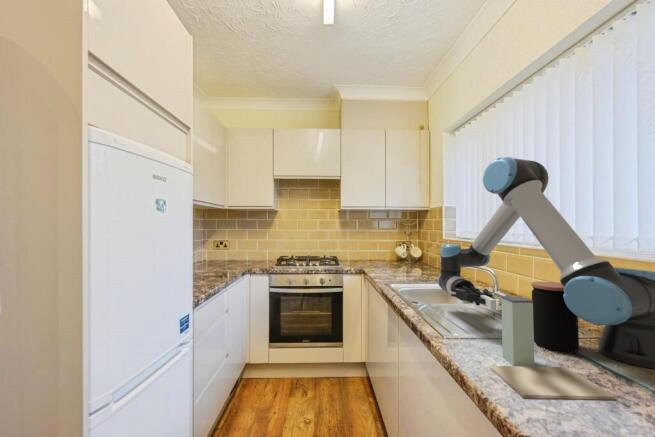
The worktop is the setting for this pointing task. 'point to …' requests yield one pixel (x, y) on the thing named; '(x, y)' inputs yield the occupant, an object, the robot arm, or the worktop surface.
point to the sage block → (517, 330)
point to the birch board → (550, 383)
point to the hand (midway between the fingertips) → (493, 304)
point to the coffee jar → (553, 319)
